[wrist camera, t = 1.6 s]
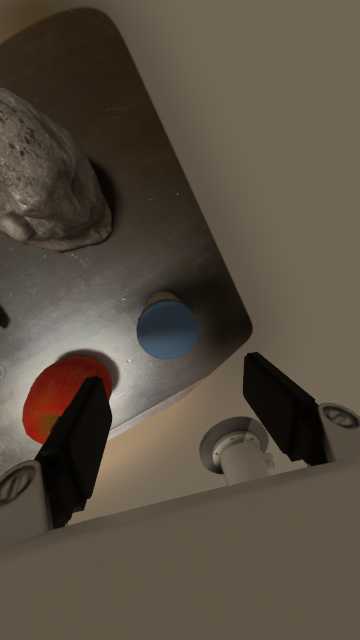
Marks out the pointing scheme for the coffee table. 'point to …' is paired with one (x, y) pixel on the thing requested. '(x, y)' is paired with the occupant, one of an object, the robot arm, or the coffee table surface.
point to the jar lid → (167, 329)
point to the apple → (58, 393)
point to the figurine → (47, 182)
